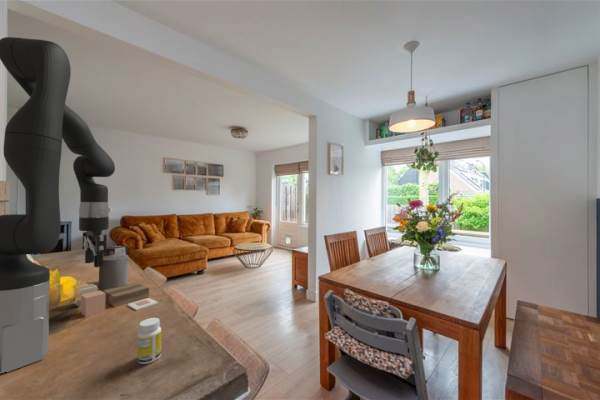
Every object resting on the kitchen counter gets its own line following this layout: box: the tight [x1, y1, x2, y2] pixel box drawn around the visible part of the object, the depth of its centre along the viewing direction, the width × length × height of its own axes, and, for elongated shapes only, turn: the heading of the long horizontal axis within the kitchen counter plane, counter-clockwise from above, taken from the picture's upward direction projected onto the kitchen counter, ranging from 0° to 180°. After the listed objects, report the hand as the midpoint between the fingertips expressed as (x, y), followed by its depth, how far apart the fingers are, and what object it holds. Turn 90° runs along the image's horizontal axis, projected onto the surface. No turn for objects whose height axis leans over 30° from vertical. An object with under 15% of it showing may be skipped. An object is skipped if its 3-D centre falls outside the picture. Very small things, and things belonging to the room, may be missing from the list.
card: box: [126, 297, 159, 311], centre depth 86 cm, size 7×7×1 cm
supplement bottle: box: [136, 317, 162, 365], centre depth 56 cm, size 5×5×8 cm
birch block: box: [75, 283, 98, 308], centre depth 87 cm, size 5×5×6 cm
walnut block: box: [103, 282, 150, 308], centre depth 91 cm, size 11×11×4 cm
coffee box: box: [103, 245, 129, 257], centre depth 111 cm, size 9×6×16 cm
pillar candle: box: [98, 254, 129, 292], centre depth 101 cm, size 10×10×15 cm
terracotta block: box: [80, 289, 106, 318], centre depth 80 cm, size 5×5×6 cm
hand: (93, 264), depth 80 cm, fingers open, 8 cm apart
